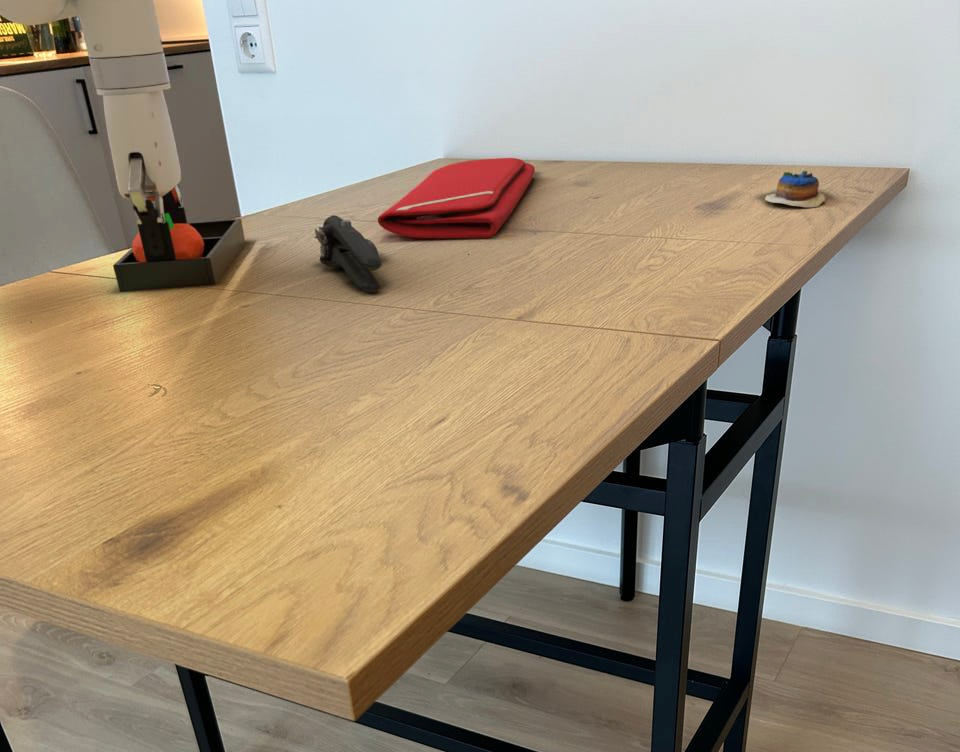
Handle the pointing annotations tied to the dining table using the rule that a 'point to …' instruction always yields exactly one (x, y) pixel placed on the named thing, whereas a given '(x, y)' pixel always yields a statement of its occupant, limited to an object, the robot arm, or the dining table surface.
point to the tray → (185, 261)
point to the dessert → (797, 190)
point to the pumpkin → (176, 241)
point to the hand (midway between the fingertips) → (169, 251)
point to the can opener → (349, 252)
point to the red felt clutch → (461, 200)
